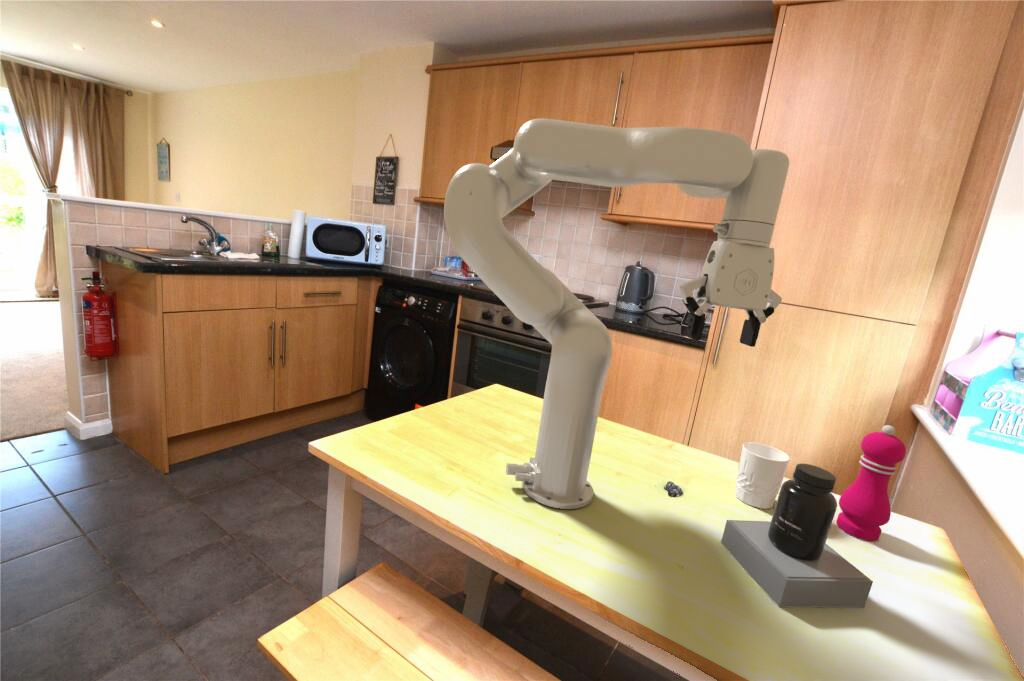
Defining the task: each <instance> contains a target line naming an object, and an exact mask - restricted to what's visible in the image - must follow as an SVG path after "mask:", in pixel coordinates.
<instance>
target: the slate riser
mask: <svg viewBox="0 0 1024 681" xmlns="http://www.w3.org/2000/svg"><path fill="white" fill-rule="evenodd" d="M770 524H771V521H761V520H741V519H740V520H737V519H726V522H725V527H724V530H723V534H722V538H721V542H720V543H721V544H722V545H723V547H724V548H725V549H726V550H727V551H728V552H729V553H730V554H731V555H732V557H733V558H734V559H736V561H737V562H738V563H739V564H740V566H742V568H743V569H744V570H745V571H746V572H747V573H748V574H749V575H750V577H751V578H752V579H753V580H754V581H755V582H756V583H757V585H759V586H760V588H762V590H763V591H764V592H765V593H766V594H767V595H768V597H769V598H770V599H771V601H773V603H775V604H776V605H777V606H778V607H779V608H865V607H866V604H867V600H868V598H869V596H870V595H869V594H870V591H871V588H872V586H873V584H874V581H873V580H872V579H871V578H870V577H868V576H867V575H865V574H864V572H862V571H860V570H859V569H858V568H857V567H856V566H854V564H852V563H850V561H848V560H847V559H846V558H844V557H843V556H842V555H841V554H839V553H838V552H837V551H836V550H835V549H834V548H833V547H831V546H829V544H827V543H825V546H824V549H823V552H822V555H821V557H820V558H819V559H817V560H813V561H807V560H801V559H798V558H795V557H792V556H790V555H788V554H786V553H784V552H783V551H781V550H779V549H778V548H777V547H776V546H774V545H773V544H772V542H771V541H770V539H769V537H768V531H769V527H770Z"/></svg>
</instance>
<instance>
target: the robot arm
mask: <svg viewBox="0 0 1024 681" xmlns="http://www.w3.org/2000/svg"><path fill="white" fill-rule="evenodd" d="M789 167H790V159H789V156H788V155H787V154H786V153H784V152H782V151H779V150H774V149H768V148H767V149H766V148H765V149H764V148H763V149H761V148H759V149H756V148H755V149H752V148H751V146H750V145H749V143H748V142H747V141H746V140H745V139H744V138H743V137H741V136H739V135H737V134H734V133H731V132H726V131H720V130H713V129H704V128H697V127H688V126H652V127H651V126H650V127H644V126H642V127H639V126H638V127H637V126H636V127H620V126H619V127H618V126H617V127H616V126H609V125H608V126H607V125H601V124H592V123H585V122H576V121H571V120H570V121H568V120H561V119H554V118H553V119H552V118H545V117H544V118H543V117H541V118H533V119H530V120H528V121H526V122H525V123H523V125H522V126H520V128H519V130H518V131H517V133H516V134H515V137H514V142H513V147H512V148H511V149H510V150H509V151H508V152H507V153H505V154H504V155H502V156H501V157H499V159H497V160H496V161H495V162H493V163H492V164H490V165H487V164H485V163H480V162H475V163H473V162H472V163H469V164H466V165H464V166H461V168H459V169H458V170H457V171H456V172H455V174H454V175H453V176H452V178H451V179H450V182H449V184H448V186H447V188H446V189H447V190H446V192H445V197H444V204H443V216H444V217H443V218H444V224H445V229H446V232H447V235H448V238H449V240H450V242H451V245H452V247H453V248H454V250H455V251H456V253H457V254H458V255H459V257H460V258H461V259H462V261H463V262H464V263H465V264H466V265H467V266H468V267H469V268H470V269H471V271H472V272H474V273H475V274H476V275H477V276H478V278H480V280H481V281H482V282H483V283H484V284H485V285H486V286H487V287H488V289H489V290H490V291H492V292H493V294H495V296H496V297H498V298H499V300H500V301H502V303H503V304H504V305H505V306H506V307H507V308H508V309H509V311H510V312H511V313H512V314H513V315H514V316H515V317H516V318H517V319H519V321H521V322H523V323H525V324H526V325H531V326H532V327H533V328H534V329H535V330H536V331H537V332H538V333H539V334H540V335H541V336H542V337H543V338H545V340H546V341H547V342H548V343H549V344H551V352H550V359H549V366H548V371H547V376H546V377H547V378H546V382H545V387H544V394H543V400H542V410H541V414H540V422H539V427H538V435H537V441H536V449H535V455H534V457H530V458H529V462H524V464H518V463H506V468H505V473H506V475H507V476H514V481H515V482H521V485H522V490H523V491H524V492H525V493H526V495H527V496H528V497H529V498H530V499H532V500H534V501H535V502H538V503H540V504H542V505H544V506H547V507H551V508H555V509H559V508H560V509H561V510H575V509H581V508H584V507H587V506H588V505H589V504H590V503H591V502H592V501H593V497H594V488H593V486H592V485H591V483H590V482H589V481H588V472H589V469H590V464H591V463H590V462H591V458H592V457H591V456H592V452H593V447H594V445H593V444H594V442H595V435H596V431H597V429H596V428H597V424H598V417H599V413H600V412H599V411H600V406H601V401H602V396H603V392H604V387H605V382H606V379H607V375H608V372H609V369H610V367H611V366H610V365H611V362H612V356H613V341H612V336H611V334H610V331H609V330H608V328H607V326H606V325H605V324H604V323H603V322H602V320H600V319H599V318H598V317H597V316H596V315H595V314H594V313H593V312H592V311H591V310H590V309H589V308H588V307H587V306H586V305H585V304H584V303H583V302H582V301H581V300H580V299H579V298H578V297H577V296H576V295H575V294H574V292H572V290H570V289H569V288H568V287H567V286H566V284H564V282H562V281H561V280H560V279H559V277H557V275H556V274H555V273H553V272H552V271H551V270H550V269H548V268H546V267H544V266H543V265H542V264H541V263H540V262H538V261H537V260H536V259H535V258H534V257H533V256H532V255H531V254H530V253H529V252H528V250H527V249H525V247H523V245H522V244H521V243H520V242H519V241H518V240H517V239H516V238H515V236H513V235H512V234H511V232H510V231H509V230H508V229H507V228H506V226H505V225H504V222H503V220H502V219H503V218H504V217H506V216H507V215H508V214H510V213H512V212H513V211H514V210H515V209H516V208H519V206H520V205H522V204H524V203H525V202H526V201H528V200H529V199H530V198H531V197H533V196H534V195H536V194H537V193H539V192H540V191H541V190H542V189H543V188H545V187H546V186H547V185H548V184H550V183H551V182H552V181H561V182H570V183H578V184H585V185H591V186H592V185H593V186H598V187H607V188H624V187H625V188H626V187H630V186H632V187H633V186H636V185H644V184H672V185H673V184H674V185H675V184H676V185H677V186H678V188H679V189H680V190H681V192H683V194H685V195H687V196H689V197H692V198H697V199H725V204H724V208H723V211H722V212H723V213H722V217H721V220H720V222H719V223H715V224H714V225H713V227H712V232H713V233H717V237H716V238H717V240H714V241H713V243H712V244H711V246H710V249H709V251H708V253H707V256H706V259H705V261H704V263H703V264H704V265H703V268H702V270H701V273H700V277H699V276H698V277H697V278H694V279H691V280H689V281H687V282H684V283H681V284H680V286H679V290H680V294H681V297H682V303H683V304H684V306H685V307H686V310H687V312H688V313H689V317H688V321H687V326H686V337H687V338H689V339H691V340H694V341H698V342H699V341H701V339H702V335H703V330H704V326H705V321H706V316H704V314H705V312H707V311H708V310H709V309H710V308H711V307H712V306H717V307H721V308H722V307H723V308H728V309H729V308H730V309H737V310H744V311H745V313H746V315H747V316H746V317H748V319H746V318H745V320H744V321H743V325H742V329H741V334H740V338H739V343H740V344H743V345H745V346H749V347H751V348H754V347H755V346H756V343H757V340H758V337H759V334H760V330H761V326H762V324H764V323H765V322H766V321H767V319H768V318H769V317H771V316H772V315H773V314H774V313H775V310H776V309H777V307H778V306H779V304H781V302H782V301H783V298H782V297H781V295H779V294H778V293H776V292H775V291H774V290H773V289H772V284H773V279H774V277H773V276H774V270H775V269H774V268H775V248H774V247H770V246H771V242H772V239H773V238H772V237H773V235H774V231H775V225H776V221H777V218H778V214H779V209H780V204H781V201H782V198H783V191H784V188H785V184H786V180H787V176H788V173H789ZM696 289H697V290H696ZM694 290H696V291H697V292H696V298H697V299H695V298H694V295H693V292H694Z"/></svg>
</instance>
